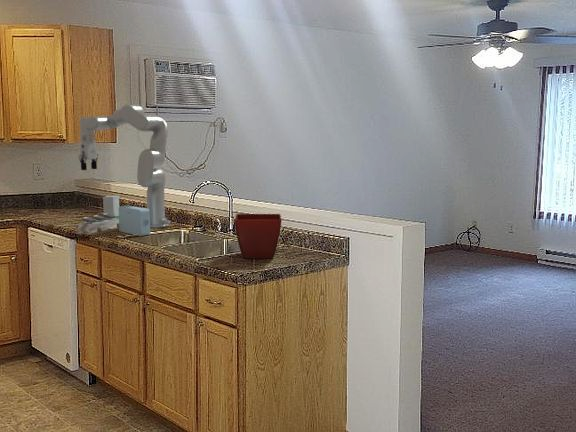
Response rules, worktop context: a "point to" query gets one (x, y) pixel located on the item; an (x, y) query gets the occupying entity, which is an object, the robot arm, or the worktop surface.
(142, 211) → the light blue rectangular block
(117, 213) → the skincare box
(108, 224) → the switch unit
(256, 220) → the plant pot
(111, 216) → the block
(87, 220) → the block
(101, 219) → the rocker
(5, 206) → the worktop surface
